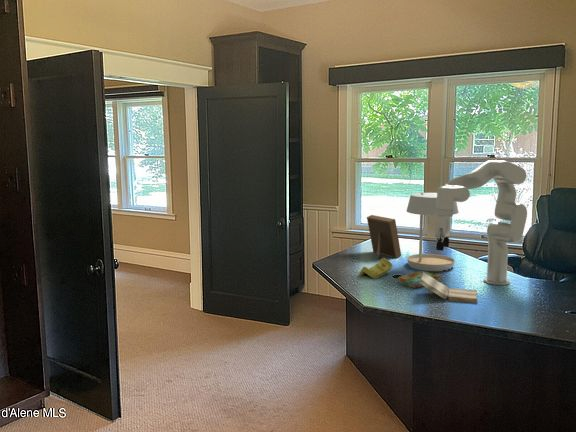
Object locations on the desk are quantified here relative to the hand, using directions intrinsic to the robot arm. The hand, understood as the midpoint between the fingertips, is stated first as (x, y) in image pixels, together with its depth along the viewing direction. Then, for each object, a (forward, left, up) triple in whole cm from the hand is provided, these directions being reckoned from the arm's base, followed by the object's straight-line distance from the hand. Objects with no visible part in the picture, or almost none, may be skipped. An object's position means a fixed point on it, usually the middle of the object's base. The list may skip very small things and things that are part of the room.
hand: (442, 248), depth 249 cm
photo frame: (-74, -41, -23) cm, 87 cm away
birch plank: (+1, -4, -19) cm, 19 cm away
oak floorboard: (+1, +10, -23) cm, 25 cm away
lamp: (-56, -9, -23) cm, 61 cm away
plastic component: (-29, -36, -23) cm, 51 cm away
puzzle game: (-18, -12, -23) cm, 32 cm away
